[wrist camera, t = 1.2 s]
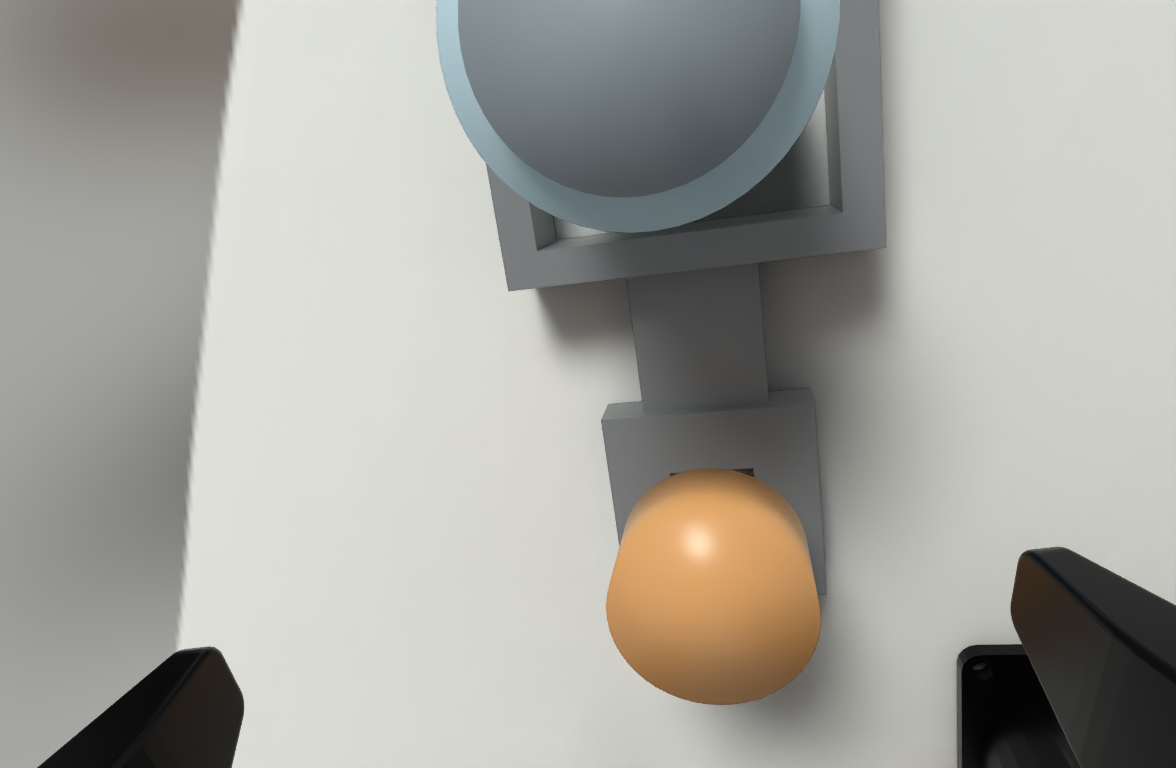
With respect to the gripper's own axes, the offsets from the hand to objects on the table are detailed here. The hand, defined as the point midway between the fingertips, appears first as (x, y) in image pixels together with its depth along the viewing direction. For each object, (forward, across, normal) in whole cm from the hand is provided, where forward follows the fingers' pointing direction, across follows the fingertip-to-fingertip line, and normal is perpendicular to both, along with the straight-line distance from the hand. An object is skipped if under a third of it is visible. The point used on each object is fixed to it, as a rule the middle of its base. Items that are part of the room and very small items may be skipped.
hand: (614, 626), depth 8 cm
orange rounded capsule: (+8, -2, +5) cm, 10 cm away
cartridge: (+12, -2, -4) cm, 13 cm away
